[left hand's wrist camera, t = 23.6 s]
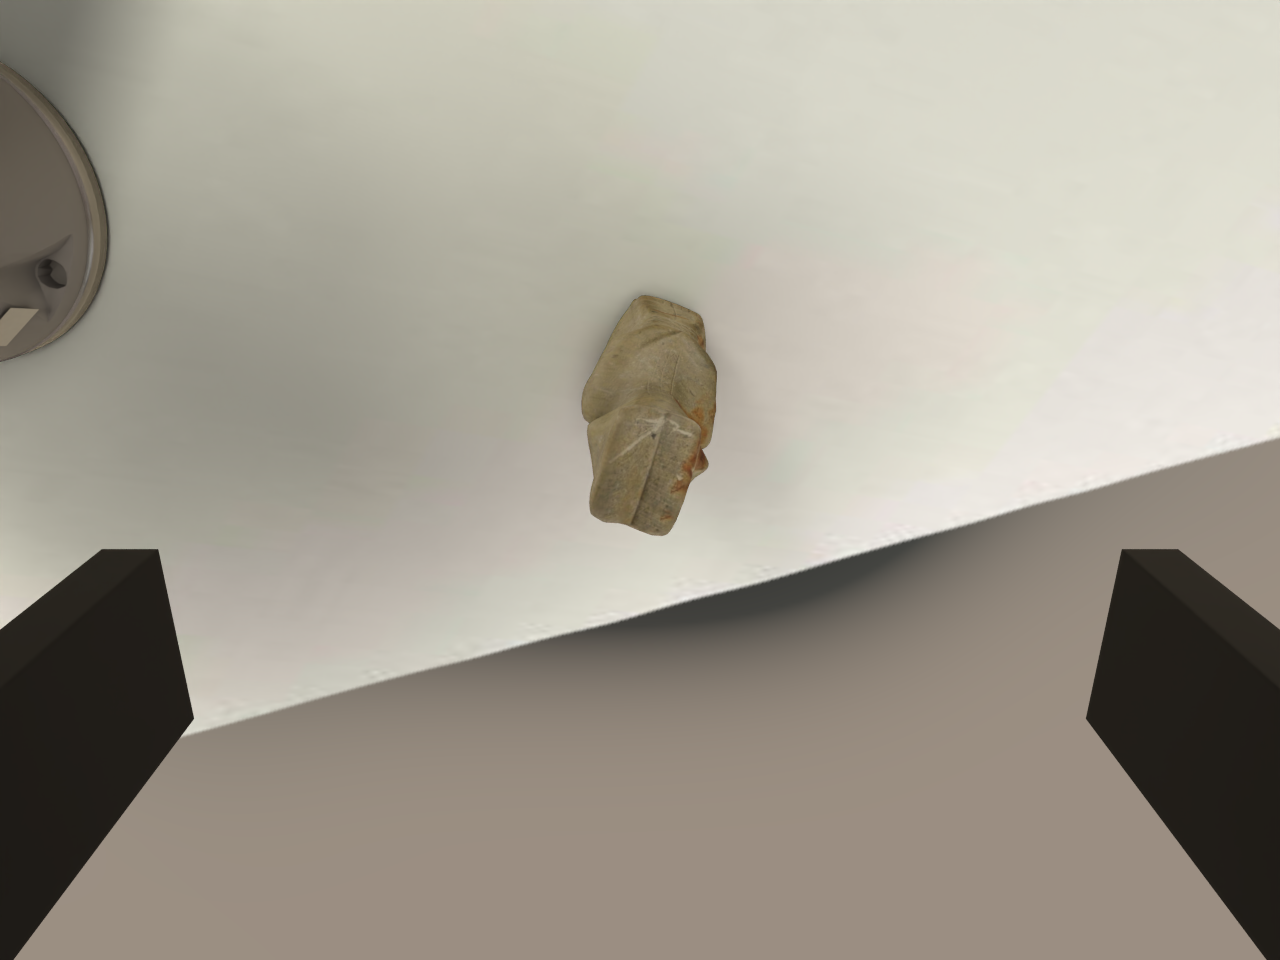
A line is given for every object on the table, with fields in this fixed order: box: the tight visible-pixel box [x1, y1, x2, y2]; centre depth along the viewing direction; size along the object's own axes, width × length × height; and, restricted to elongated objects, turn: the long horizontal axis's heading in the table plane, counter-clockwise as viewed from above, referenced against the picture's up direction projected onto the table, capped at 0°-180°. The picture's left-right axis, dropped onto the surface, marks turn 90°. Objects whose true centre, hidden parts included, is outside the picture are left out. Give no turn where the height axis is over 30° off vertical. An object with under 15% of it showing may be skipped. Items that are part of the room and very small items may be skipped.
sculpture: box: [582, 295, 717, 536], centre depth 40 cm, size 6×7×15 cm
